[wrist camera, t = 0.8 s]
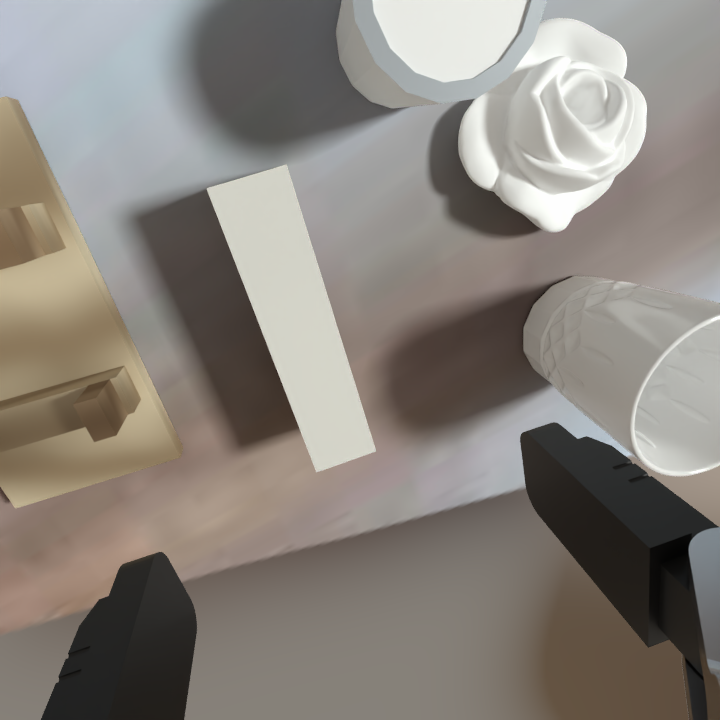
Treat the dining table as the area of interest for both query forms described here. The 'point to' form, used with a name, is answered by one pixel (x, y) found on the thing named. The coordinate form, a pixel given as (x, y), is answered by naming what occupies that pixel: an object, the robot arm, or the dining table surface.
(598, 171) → the rose
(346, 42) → the white short tapered cylinder
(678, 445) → the white cup
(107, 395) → the rack
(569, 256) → the dining table surface
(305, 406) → the white rectangular block
